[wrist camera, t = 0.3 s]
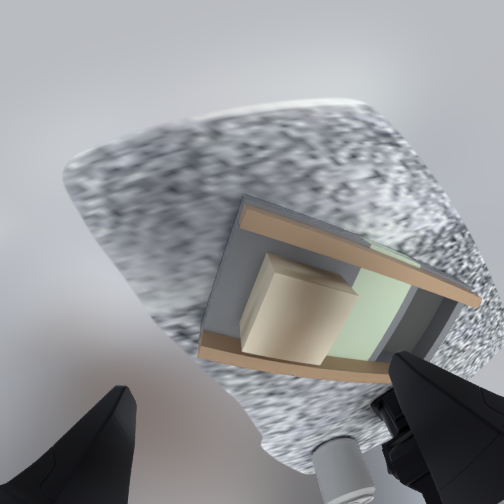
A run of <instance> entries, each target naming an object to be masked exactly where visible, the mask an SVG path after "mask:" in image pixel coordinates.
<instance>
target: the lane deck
mask: <svg viewBox="0 0 504 504" xmlns="http://www.w3.org/2000/svg"><path fill="white" fill-rule="evenodd" d="M266 252H268V253H271V254H274V255H278V256H281V257H284V258H287V259H291V260H294V261H297V262H300V263H304V264H307V265H310V266H313V267H317V268H320V269H323V270H326V271H330V272H333V273H336V274H339V275H341V276H342V277H343V278H344V280H345V281H346V282H347V283H348V284H349V285H350V286H351V287H352V289H353V290H354V291H355V292H356V293H357V294H358V295H359V298H358V300H357V302H356V303H355V305H354V307H353V309H352V311H351V313H350V315H349V317H348V319H347V320H346V322H345V324H344V326H343V328H342V329H341V331H340V333H339V335H338V336H337V338H336V340H335V342H334V343H333V345H332V347H331V348H330V350H329V352H328V353H327V355H326V357H325V358H324V360H323V362H322V363H321V365H314V364H307V363H301V362H294V361H288V360H282V359H276V358H271V357H266V356H260V355H255V354H250V353H246V352H242V348H241V337H240V325H239V322H240V320H241V317H242V315H243V312H244V310H245V307H246V304H247V302H248V299H249V297H250V294H251V291H252V289H253V286H254V284H255V281H256V278H257V276H258V273H259V271H260V268H261V265H262V263H263V260H264V258H265V255H266ZM471 290H472V288H471V287H470V286H468V285H467V284H465V283H464V282H462V281H461V280H459V279H457V278H455V277H453V276H451V275H449V274H447V273H445V272H442V271H440V270H438V269H436V268H434V267H431V266H429V265H427V264H425V263H423V262H420V261H418V260H416V259H413V258H411V257H409V256H407V255H404V254H402V253H400V252H397V251H395V250H392V249H390V248H388V247H385V246H383V245H380V244H378V243H376V242H373V241H371V240H368V239H366V238H363V237H361V236H358V235H356V234H353V233H351V232H348V231H345V230H343V229H340V228H338V227H335V226H332V225H330V224H327V223H325V222H322V221H319V220H316V219H314V218H311V217H308V216H306V215H303V214H300V213H297V212H294V211H292V210H289V209H286V208H283V207H280V206H277V205H274V204H272V203H269V202H266V201H263V200H260V199H257V198H254V197H251V196H248V195H245V194H244V195H243V198H242V201H241V204H240V207H239V210H238V213H237V216H236V219H235V222H234V225H233V228H232V231H231V234H230V237H229V240H228V243H227V246H226V249H225V252H224V255H223V258H222V261H221V264H220V267H219V270H218V273H217V276H216V279H215V282H214V285H213V289H212V292H211V295H210V298H209V301H208V304H207V308H206V311H205V314H204V317H203V320H202V324H201V327H200V335H199V343H198V344H199V348H198V356H197V357H198V358H202V359H206V360H210V361H215V362H219V363H224V364H228V365H233V366H238V367H243V368H248V369H254V370H259V371H265V372H271V373H277V374H284V375H291V376H298V377H306V378H314V379H324V380H334V381H346V382H361V383H385V384H392V382H391V379H390V377H389V373H388V369H389V366H390V362H391V359H392V356H393V354H394V353H395V352H398V351H401V350H406V351H408V352H410V353H412V354H414V355H416V356H418V357H420V358H422V359H424V360H426V361H428V362H430V360H431V359H432V357H433V356H434V354H435V353H436V351H437V350H438V348H439V347H440V345H441V343H442V342H443V340H444V339H445V337H446V335H447V334H448V332H449V331H450V329H451V327H452V325H453V324H454V322H455V320H456V319H457V317H458V315H459V313H460V311H461V309H462V308H463V306H464V304H466V305H469V306H471V307H474V308H478V306H479V304H480V302H481V300H482V298H481V297H479V296H478V295H476V294H475V293H474V292H472V291H471Z"/></svg>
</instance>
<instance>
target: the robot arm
mask: <svg viewBox="0 0 504 504" xmlns="http://www.w3.org/2000/svg"><path fill="white" fill-rule="evenodd" d="M388 373H389V377H390V379H391V382H392V385H393V388H394V389H392V390H391V391H390V392H388V393H387V394H385V395H384V396H382V397H381V398H379V399H377V400H376V401H374V402H373V403H372V404H371V407H372V409H373V410H374V411H375V412H376V414H377V415H378V416H379V417H380V419H381V420H382V421H383V420H384V422H385V424H386V426H387V428H388V430H389V432H390V434H391V436H392V439H391V440H389V441H388V442H386V443H383V444H382V448H383V449H382V451H383V454H384V457H385V460H386V463H387V470H388V473H389V474H392V475H393V476H394V477H395V478H396V479H398V480H400V482H401V483H402V484H404V485H406V486H408V487H410V488H412V489H414V490H416V491H418V492H420V493H422V494H423V497H424V499H425V501H426V504H504V397H502V396H499V395H497V394H495V393H493V392H490V391H488V390H486V389H484V388H482V387H479V386H477V385H475V384H473V383H471V382H469V381H467V380H465V379H463V378H461V377H459V376H457V375H454V374H452V373H450V372H448V371H446V370H444V369H442V368H440V367H438V366H436V365H434V364H432V363H430V362H428V361H426V360H424V359H422V358H420V357H418V356H416V355H414V354H412V353H410V352H408V351H406V350H401V351H398V352H395V353H394V354H393V356H392V359H391V362H390V366H389V369H388ZM136 410H137V405H136V401H135V399H134V397H133V395H132V393H131V391H130V389H129V388H128V387H127V386H122V385H116V386H115V387H113V389H111V390H110V391H109V392H108V393H107V394H106V395H105V396H104V397H103V398H102V399H101V400H100V401H99V402H98V403H97V404H96V405H95V406H94V407H93V408H92V409H91V410H89V411H88V412H87V413H86V414H85V415H84V416H83V417H82V418H81V419H80V420H79V421H78V422H77V423H76V424H75V425H74V426H73V427H72V428H71V429H70V430H69V431H68V432H67V433H65V435H63V436H62V438H60V439H59V440H58V441H57V442H56V443H55V444H54V446H53V447H51V448H50V449H49V450H48V451H47V452H46V453H44V454H43V455H42V456H41V457H40V458H39V459H38V460H37V461H35V462H34V463H33V464H32V465H30V466H29V467H28V468H26V469H25V470H24V471H22V472H21V473H20V474H18V475H17V476H16V477H14V478H13V479H12V480H10V481H9V482H7V483H5V484H2V485H0V504H128V494H129V485H130V484H129V483H130V476H131V468H132V461H133V454H134V446H135V428H136Z"/></svg>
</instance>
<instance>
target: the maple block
mask: <svg viewBox="0 0 504 504" xmlns="http://www.w3.org/2000/svg"><path fill="white" fill-rule="evenodd" d="M358 298H359V295H358V294H357V293H356V292H355V291H354V290H353V289H352V287H351V286H350V285H349V284H348V283H347V282H346V281H345V280H344V278H343V277H342V276H341V275H339V274H336V273H333V272H330V271H326V270H323V269H320V268H317V267H313V266H310V265H307V264H304V263H300V262H297V261H294V260H291V259H287V258H284V257H281V256H278V255H274V254H271V253H268V252H266V255H265V258H264V260H263V263H262V265H261V268H260V271H259V273H258V276H257V278H256V281H255V284H254V286H253V289H252V291H251V294H250V297H249V299H248V302H247V304H246V307H245V310H244V312H243V315H242V317H241V320H240V322H239V325H240V337H241V348H242V352H246V353H250V354H255V355H260V356H266V357H271V358H276V359H282V360H288V361H294V362H301V363H307V364H314V365H321V363H322V362H323V360H324V358H325V357H326V355H327V353H328V352H329V350H330V348H331V347H332V345H333V343H334V342H335V340H336V338H337V336H338V335H339V333H340V331H341V329H342V328H343V326H344V324H345V322H346V320H347V319H348V317H349V315H350V313H351V311H352V309H353V307H354V305H355V303H356V302H357V300H358Z"/></svg>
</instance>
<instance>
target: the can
mask: <svg viewBox="0 0 504 504" xmlns="http://www.w3.org/2000/svg"><path fill="white" fill-rule="evenodd" d="M312 461H313V464H314V468H315V472H316V475H317V479H318V483H319V486H320V490H321V494H322V497H323V501H324V504H367V503H368V502H370V501H371V500H373V499H374V496H373V495H372V494H373V493H374V491H375V489H376V487H375V485H374V482H373V480H372V477H371V475H370V472H369V470H368V467H367V465H366V462H365V460H364V458H363V455H362V453H361V450H360V448H359V445H358V443H357V441H356V440H353V439H350V438H337V439H333V440H330V441H328V442H326V443H324V444H322V445H321V446H319V447H318V448H317V449H316V451H315V452H314V453H313V455H312Z"/></svg>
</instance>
